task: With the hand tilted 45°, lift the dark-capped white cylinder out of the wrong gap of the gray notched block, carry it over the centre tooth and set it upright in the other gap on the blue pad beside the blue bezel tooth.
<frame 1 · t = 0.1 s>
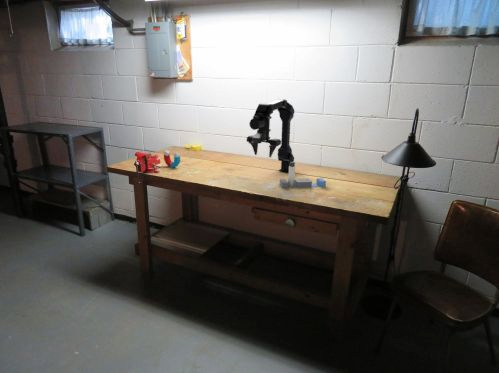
hand: (262, 156, 196), 15 cm above the table, tool pointing down, fingers open, 9 cm apart
magnet: (172, 167, 224), on the table
gray notched block: (302, 187, 192), on the table
dark-capped white cylinder: (290, 185, 190), point 1 cm above the table, touching gray notched block
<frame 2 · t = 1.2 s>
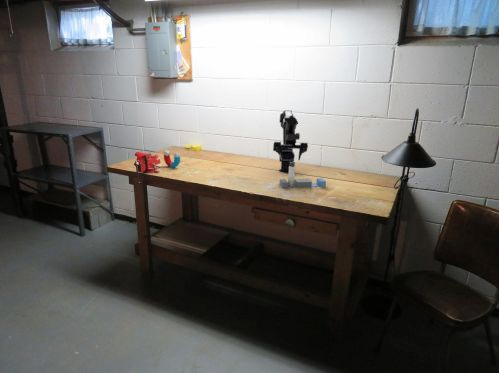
hand: (290, 160, 194), 13 cm above the table, tool tilted 45°, fingers open, 9 cm apart
nothing on the table moved.
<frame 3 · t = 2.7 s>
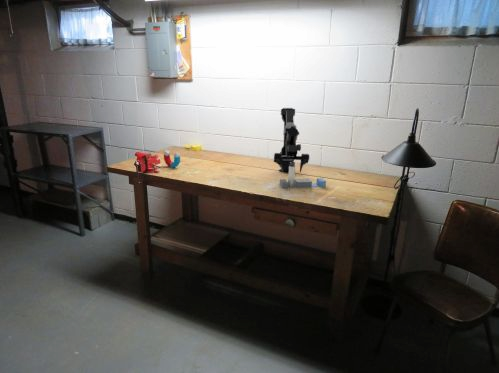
hand: (291, 171, 188), 9 cm above the table, tool tilted 45°, fingers open, 9 cm apart
nothing on the table moved.
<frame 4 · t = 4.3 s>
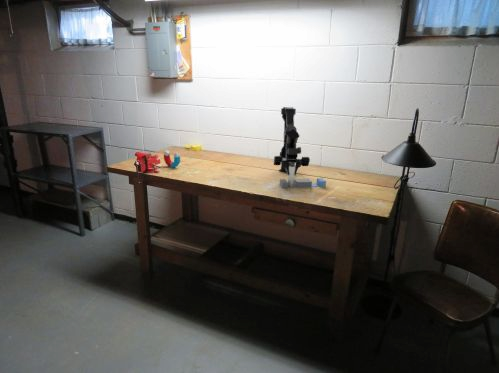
hand: (291, 174, 187), 8 cm above the table, tool tilted 45°, fingers closed on dark-capped white cylinder, 3 cm apart
dark-capped white cylinder: (290, 185, 190), point 1 cm above the table, touching gray notched block, gripper
everything else where it was.
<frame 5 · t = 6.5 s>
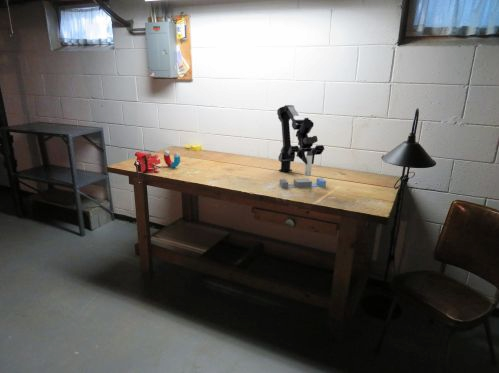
hand: (309, 164, 186), 13 cm above the table, tool tilted 45°, fingers closed on dark-capped white cylinder, 3 cm apart
dark-capped white cylinder: (307, 175, 190), point 7 cm above the table, touching gripper
everything else where it was.
when the fingers open (8 cm above the table, at t = 8.7 s): dark-capped white cylinder stays where it is, resting on gray notched block.
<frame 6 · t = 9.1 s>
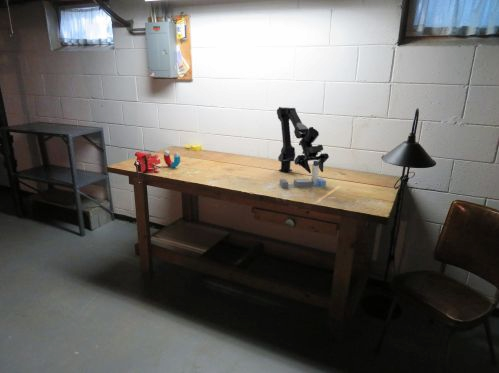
hand: (316, 172, 189), 9 cm above the table, tool tilted 45°, fingers open, 7 cm apart
dark-capped white cylinder: (313, 184, 193), point 1 cm above the table, touching gray notched block
everything else where it was.
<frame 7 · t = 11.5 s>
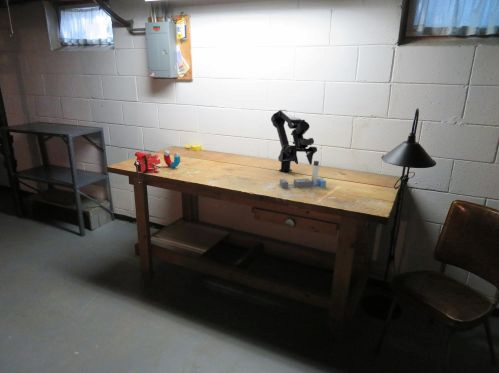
hand: (304, 164, 197), 11 cm above the table, tool tilted 35°, fingers open, 9 cm apart
nothing on the table moved.
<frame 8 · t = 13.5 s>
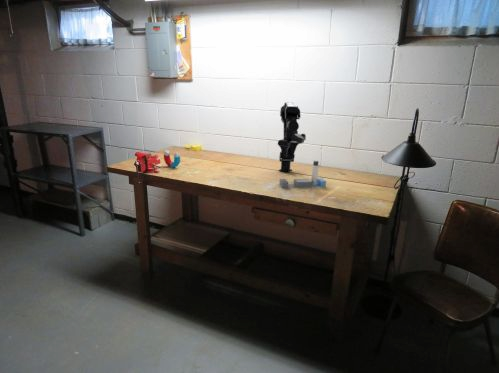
hand: (289, 155, 205), 13 cm above the table, tool pointing down, fingers open, 9 cm apart
nothing on the table moved.
at the end: dark-capped white cylinder 0.0 cm from the target spot, point 1.2 cm above the table; dark-capped white cylinder tilted 0°; the gripper is holding nothing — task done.
